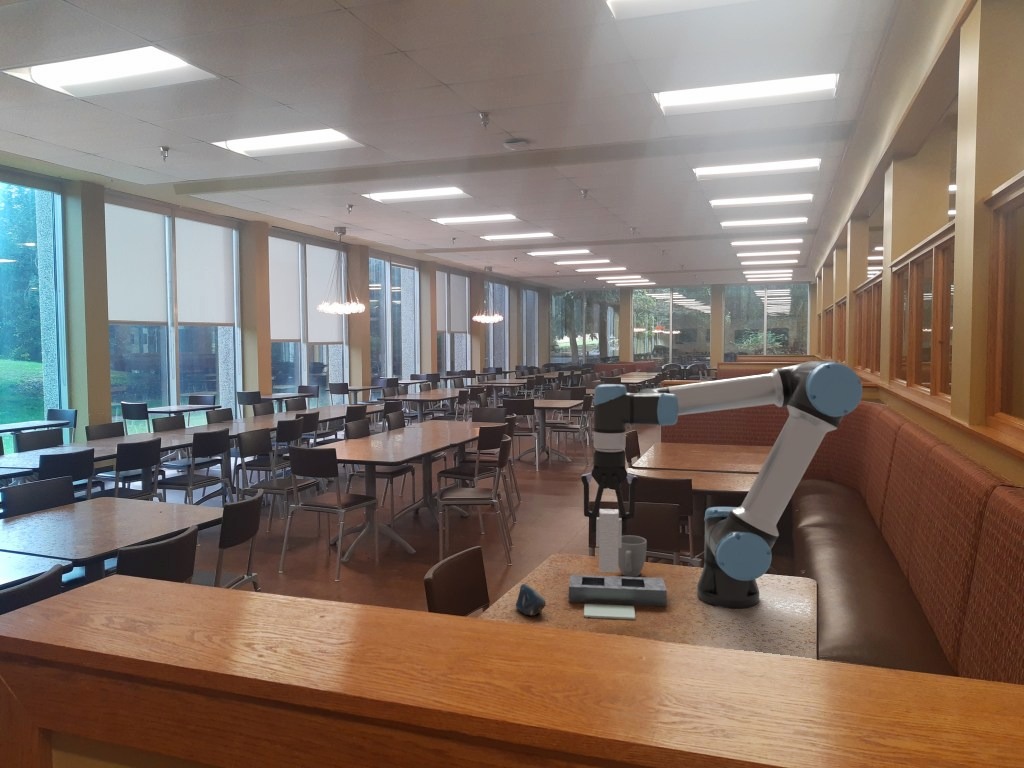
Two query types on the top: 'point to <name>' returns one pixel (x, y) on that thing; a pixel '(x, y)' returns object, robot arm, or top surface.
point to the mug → (632, 555)
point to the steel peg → (608, 540)
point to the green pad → (609, 611)
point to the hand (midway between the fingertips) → (608, 545)
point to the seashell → (529, 600)
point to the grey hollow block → (617, 590)
